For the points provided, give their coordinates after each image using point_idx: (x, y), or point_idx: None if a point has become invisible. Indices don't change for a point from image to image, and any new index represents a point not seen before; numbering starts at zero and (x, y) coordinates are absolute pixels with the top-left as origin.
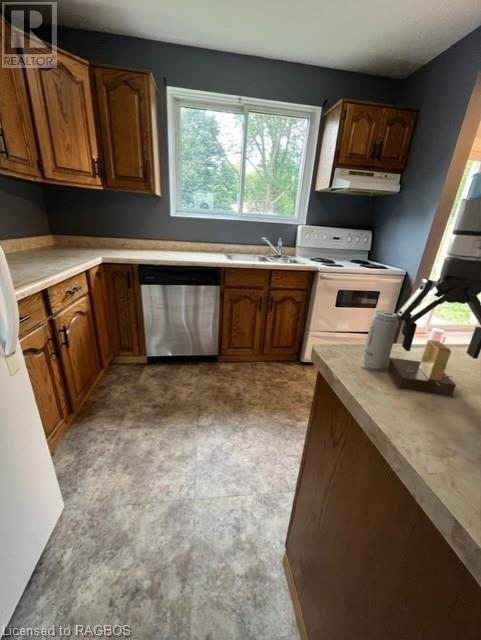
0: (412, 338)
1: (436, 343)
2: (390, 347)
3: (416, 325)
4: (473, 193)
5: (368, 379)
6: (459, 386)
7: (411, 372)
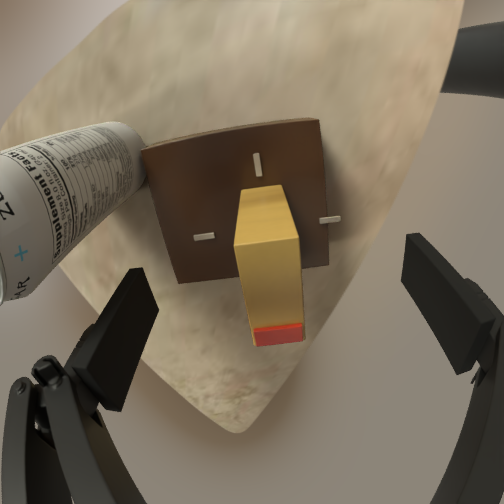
0: (139, 353)
1: (268, 279)
2: (105, 214)
3: (120, 409)
4: None
5: (113, 248)
6: (368, 178)
7: (207, 241)
